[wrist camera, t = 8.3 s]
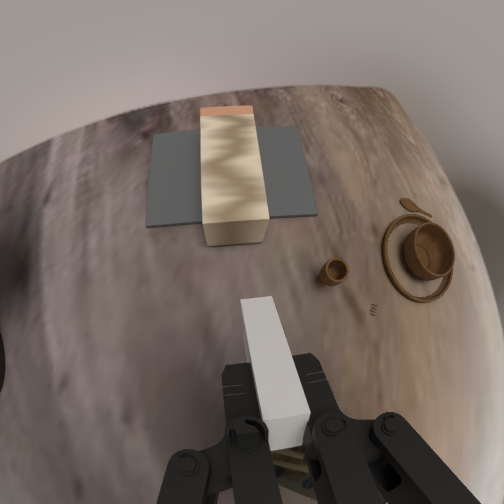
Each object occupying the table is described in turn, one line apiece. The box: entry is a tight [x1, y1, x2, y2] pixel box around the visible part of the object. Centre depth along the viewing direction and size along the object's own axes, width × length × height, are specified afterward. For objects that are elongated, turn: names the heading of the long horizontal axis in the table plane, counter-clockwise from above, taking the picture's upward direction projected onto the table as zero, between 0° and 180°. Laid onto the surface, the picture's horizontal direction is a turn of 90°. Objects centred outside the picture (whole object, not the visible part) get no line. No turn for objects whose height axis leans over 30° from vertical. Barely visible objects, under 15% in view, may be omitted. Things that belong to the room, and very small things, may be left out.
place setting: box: [316, 198, 455, 316], centre depth 31 cm, size 18×20×6 cm
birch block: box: [201, 106, 269, 246], centre depth 31 cm, size 6×6×15 cm
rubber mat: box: [146, 126, 318, 228], centre depth 35 cm, size 20×14×1 cm
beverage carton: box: [271, 442, 387, 504], centre depth 22 cm, size 8×19×7 cm, turn 55°
